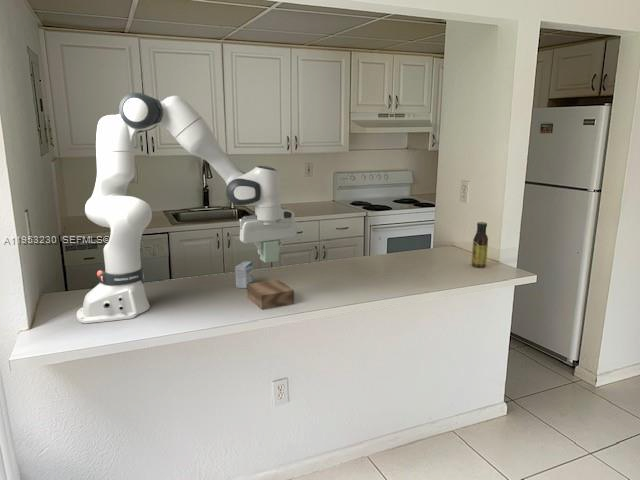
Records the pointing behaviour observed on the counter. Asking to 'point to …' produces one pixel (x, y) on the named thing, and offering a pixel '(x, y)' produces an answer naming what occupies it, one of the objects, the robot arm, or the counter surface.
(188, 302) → the counter surface
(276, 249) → the sage block
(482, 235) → the sauce bottle
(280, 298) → the walnut block
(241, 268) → the medicine box
